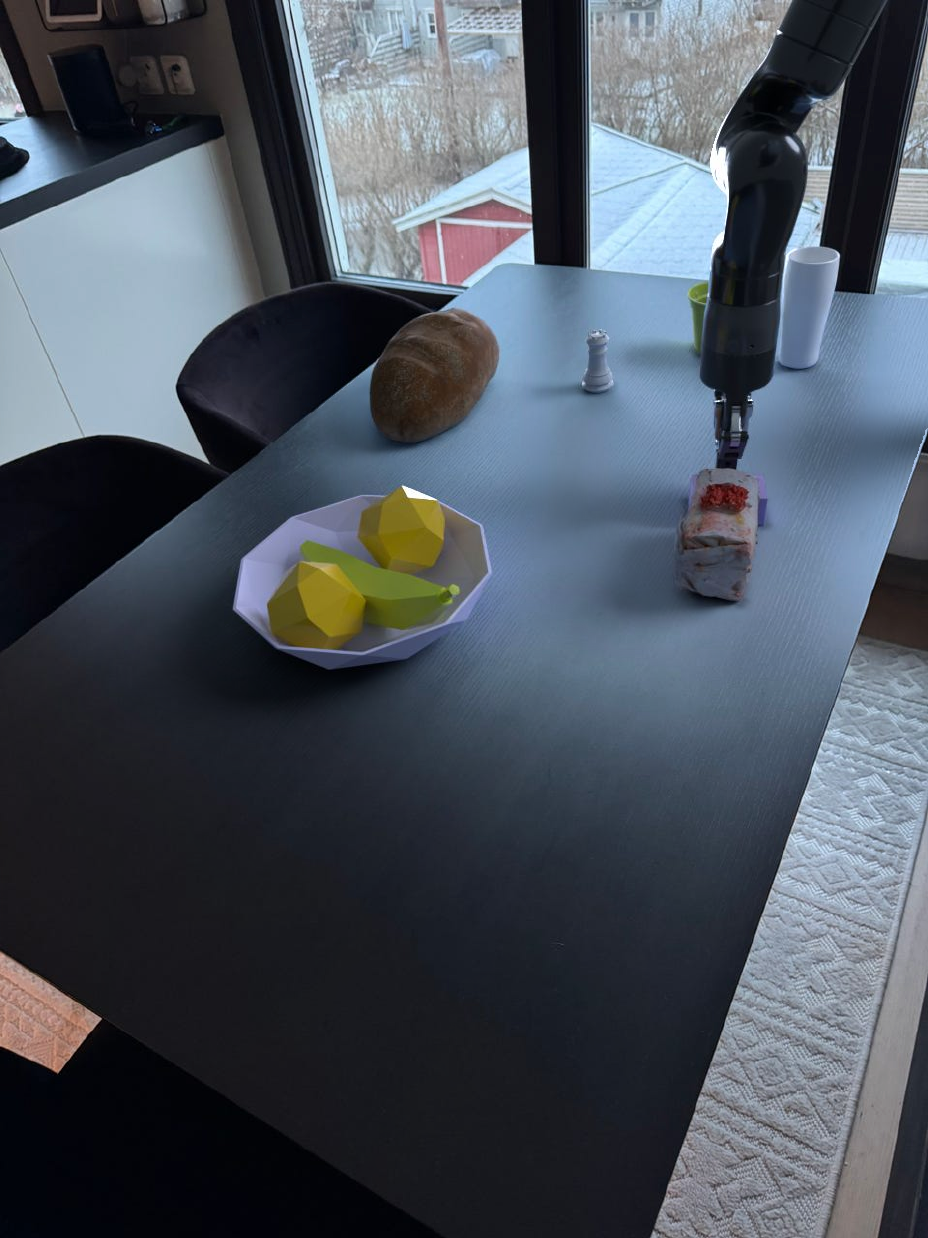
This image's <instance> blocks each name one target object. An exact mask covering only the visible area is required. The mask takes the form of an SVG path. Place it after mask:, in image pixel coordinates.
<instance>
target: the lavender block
mask: <svg viewBox="0 0 928 1238" xmlns="http://www.w3.org/2000/svg"><path fill="white" fill-rule="evenodd" d="M750 474H751V475H752V476H754V477H755V478H758V479H759V481H758V487H759V492H760V502H759V503H758V515H757V517H758V526H764V525H765V520H766V513H767V505H768V493H767V488H766V482H765V474H761V473H759V474H758V473H757V474H755V473H753V474H752V473H750ZM697 477H698V474H690V475H689V485H688V487H689V488H688V509H689V508H690V504H691V498H692V495H693V492H694V489H695V485H696V482H697Z"/></svg>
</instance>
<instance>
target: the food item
mask: <svg viewBox="0 0 928 1238" xmlns="http://www.w3.org/2000/svg"><path fill="white" fill-rule="evenodd" d="M715 468H716V467H715ZM715 468H704V469H701V470H699V472H698V474H697V475H698V477H697V482H696V485H695V489H694V492H693V495H692V498H691V504H690V508H689V507H688V509H686V513H685V516H684V507H682V508H681V510H680V511H681V512H680V516H679V520H678V524H677V528H676V533H675V539H674V548H673V557H674V562H673V575H674V576H673V577H674V585H675V587H676V588H677V590H678V591H680V590H682V591H683V592H691V593H695V594H700V595H701V596H705V597H714V598H718V599H724V600H727V601H733V602H741V599H742V598H744V595H745V592H746V590H747V588H748V585H749V581H750V578H751V574H752V570H753V566H754V559H755V553H756V546H757V545H758V544H759V540H758V539H757V537H758V526H759V525H758V517H757V515H758V503H759V502H760V492H759V487H758V481H759V479H758V478H755V477H754V476H752V475H751V474H752V473H749V472H746V471H742V470H738V469H737V470H735V469H730V468H725V469H719V468H716V469H715Z"/></svg>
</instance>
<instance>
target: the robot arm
mask: <svg viewBox="0 0 928 1238" xmlns="http://www.w3.org/2000/svg"><path fill="white" fill-rule="evenodd" d="M887 2H888V0H791V2H790V4H789V6H788V8H787V9H786V10H787V11H786V12H785V15H784V17H783V19H782V21H781V24H780V25H779V27H778V30H777V33H776V34H775V36H774V38H773V41H772V43H771V45H770V48H769V50H768V52H767V54H766V56H765V57H764V60H763V61H762V62H761V63H760V65H759V67H758V68H757V69H756V71H755V72H754V73H753V74H752V76H751V78H750V79H749V80H748V82H747V84H746V85H745V86H744V88H743V90H742V91H741V93H740V94H739V95H738V97H737V99H736V101H735V102H734V103H733V105H732V107H731V108H730V110H729V112H728V113H727V115H726V116H725V119H724V120H723V122H722V124H721V126H720V128H719V131H718V133H717V135H716V138H715V141H714V144H713V148H712V151H711V156H710V168H711V169H710V170H711V173H712V176H713V177H712V178H713V179H714V181H715V183H716V184H717V186H718V187H719V188H720V189H721V190H722V191H723V192H724V193H725V194H726V196H727V207H726V216H725V222H724V229H723V232H721V233H720V234H719V235H718V236H717V237H716V239H715V240H714V243H713V246H712V250H711V255H710V263H709V277H708V281H709V288H708V298H707V303H706V307H705V312H704V319H703V333H702V346H701V355H700V361H699V371H698V372H699V375H698V376H699V379H700V381H701V383H702V384H703V385H704V386H705V387H707V388H708V389H711V390H713V395H712V403H713V404H712V405H713V406H714V408H713V421H712V422H713V431H714V439H715V442H714V445H715V453H716V457H715V458H716V460H715V468H714V469H716V468H719V469H725V468H730V469H735V470H738V469H737V468H738V461H739V460H742V458H743V456H744V453H745V449H746V447H747V444H748V442H749V441H748V440H749V439H750V434H749V424H750V419H751V418H752V416H753V413H754V399H752V393H753V392H755V391H758V390H761V389H764V388H765V387H766V386H767V385H768V384H769V383H770V382H771V381H772V380H773V376H774V369H775V363H776V354H777V347H778V341H779V333H780V332H779V331H780V326H781V309H782V286H783V277H784V269H785V264H786V257H787V254H786V253H787V249H788V245H789V243H790V241H791V238H792V237H793V233H794V231H795V228H796V225H797V221H798V217H799V215H800V211H801V208H802V206H803V202H804V199H805V195H806V189H807V184H808V177H809V176H808V173H809V162H808V161H809V160H808V154H807V150H806V146H805V144H804V142H803V140H802V139H801V138H800V137H799V135H798V134H797V133H798V132H799V130H800V129H801V127H802V125H803V123H804V122H805V121H806V119H807V118H808V116H809V114H810V113H811V111H812V110H813V108H814V106H815V105H816V104H817V103H818V102H822V101H826V100H828V99H830V98H832V97H834V95H836V94H837V93H838V91H839V90H840V89H841V87H842V86H843V84H844V83H845V81H846V79H847V77H848V76H849V74H850V72H851V70H852V68H853V65H855V62H856V60H857V59H858V57H859V55H860V53H861V52H862V49H863V47H864V46H865V44H866V42H867V40H868V38H869V36H870V34H871V32H872V30H873V29H874V27H875V25H876V23H877V21H878V19H879V17H880V16H881V13H882V12H883V10H884V7H885V6H886V4H887Z"/></svg>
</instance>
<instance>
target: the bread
mask: <svg viewBox="0 0 928 1238" xmlns="http://www.w3.org/2000/svg"><path fill="white" fill-rule="evenodd" d="M499 362H500V346H499V343H498V339H497V337H496V334H495V333H494V331H493V330H492V328H491V327H490V326H489V324H488V323H487V322H486V321H485V320H483V319H482V318H481V317H479V316H478V315H476V314H474V313H472V312H470V311H468V310H465V309H464V308H463V309H462V308H458V307H457V308H456V307H451V308H449V309H446V310H440V311H434V312H430V313H429V312H428V313H424V314H422V315H420V316H417V317H415V318H412V320H410V321H408V322H406V324H404V325H403V326H402V327H400V328H399V329H398V331H397V332H396V333H395V335H393V337H392V338H391V339H389V341H388V343H387V344H386V346H385V348H384V350H383V351H382V353H381V354H380V356H379V358H378V359H377V361H376V363H375V364H374V366H373V369H372V372H371V377H370V383H369V411H370V416H371V418H372V421H373V424H374V425H375V427H376V429H377V430H378V431H379V432H380V433H381V434H382V435H383V436H384V437H385V438H387V439H389V440H391V441H394V442H401V443H417V442H423V441H426V440H428V439H429V440H430V439H431V438H433V437H435V436H439V435H440V434H441V433H443V432H445V431H447V430H449V429H451V428H453V427H456V426H457V425H460V424H461V423H462V422H463V421H464V420H466V419H467V417H468V416H469V415H470V413H472V411H473V409H474V408H475V407H476V406H477V404H478V402H479V401H480V399H481V398H482V397H483V394H484V393H485V391H486V388H487V386H488V385H489V383H490V382H491V380H492V379H493V377H494V376H495V374H496V373H497V368H498V365H499Z"/></svg>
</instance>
